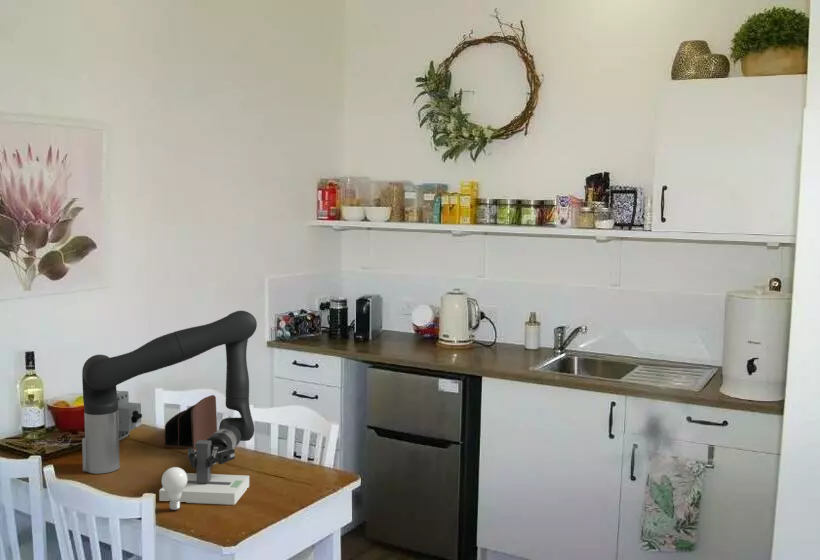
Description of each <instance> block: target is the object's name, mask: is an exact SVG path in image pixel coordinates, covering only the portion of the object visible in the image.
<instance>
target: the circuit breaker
mask: <svg viewBox="0 0 820 560" xmlns="http://www.w3.org/2000/svg"><path fill="white" fill-rule="evenodd" d="M116 391H117V399H118V421H119V436H120V437H119V441H121V440H123V439H125V438H127V437H129V436H130V432H131V431H133V430H136V429H137V428H139V427H141V426H142V418H143V414H142V404H141V402H130V399H129V398H130V397H129V391H128V390H116ZM122 435H123V436H122ZM128 435H129V436H128ZM126 436H127V437H126Z"/></svg>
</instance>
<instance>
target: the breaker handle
mask: <svg viewBox="0 0 820 560" xmlns="http://www.w3.org/2000/svg"><path fill="white" fill-rule="evenodd" d="M210 446H211V441H208V440H199V441H197V442H196V443H195V450H196V460H197V466H196V467H195V468H196V473H197V483H208V482H209V481H210V480H211V474H212V472H211V471H212V470H211V468H212V466H211V467H209V468H205V461H206V459H208V458H209V457H210V456H211V451H210Z"/></svg>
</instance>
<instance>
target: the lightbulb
mask: <svg viewBox="0 0 820 560" xmlns="http://www.w3.org/2000/svg"><path fill="white" fill-rule="evenodd" d="M186 473H187V472H186V471H185V470H184V469H183V468H181V467H180V466H179V467H177V466H172V467H170V468H168V469H166V470H165V471H164V472H163V474H162V476H161V486H162V487H163V488H164V489H165V490H166V492H167V494H168V498H169V501H170V502H168V503H169V509H170V510H172V511H177V510H179V509H180V508H181V502H180V498H181V495H182V491H183V489H184V488H185V486H186V484H187V480H188V478H187V474H186Z"/></svg>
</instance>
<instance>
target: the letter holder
mask: <svg viewBox="0 0 820 560" xmlns="http://www.w3.org/2000/svg"><path fill="white" fill-rule="evenodd" d="M217 421H218V417H217V398H216V395H214V394H212V395H209V396H206V397H204V398H202V399H201V400H199V401H198V402H196V403H195V404H193V405H191V406H189V407H188V408H186V409H185V410H183V411H180V412H179V413H177V414H174V416H172V417H171V418H170V419H169V420H167V421H166V423H165V425H164V445H163V447H164V449H173V448H180V449H179V450H188V448H192V449H194V450H196V448H195V443H196V442H197V441H199V440H207V439H208V438H209V437H210V436H211V435H212V434H213V433H215V432H216V431H218V423H217Z"/></svg>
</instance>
